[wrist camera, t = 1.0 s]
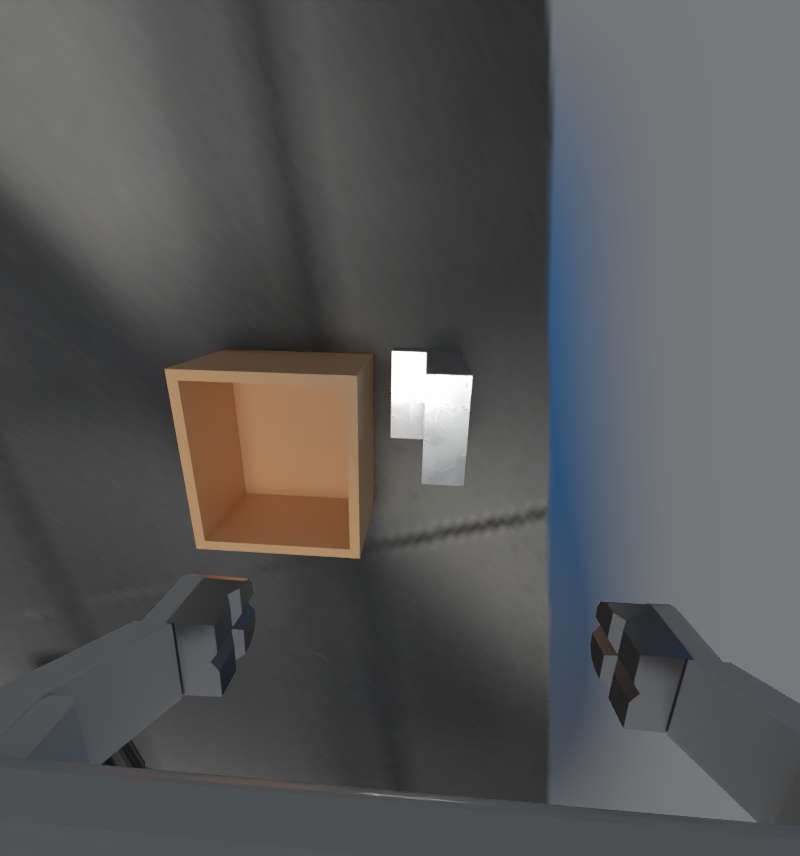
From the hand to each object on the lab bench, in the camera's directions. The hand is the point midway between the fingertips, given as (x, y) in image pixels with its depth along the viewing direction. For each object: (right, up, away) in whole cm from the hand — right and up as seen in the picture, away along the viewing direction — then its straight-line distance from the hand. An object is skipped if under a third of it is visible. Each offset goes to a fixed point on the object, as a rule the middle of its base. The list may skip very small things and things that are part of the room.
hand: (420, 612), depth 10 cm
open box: (-10, +4, +29) cm, 31 cm away
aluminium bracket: (+2, +8, +27) cm, 29 cm away
